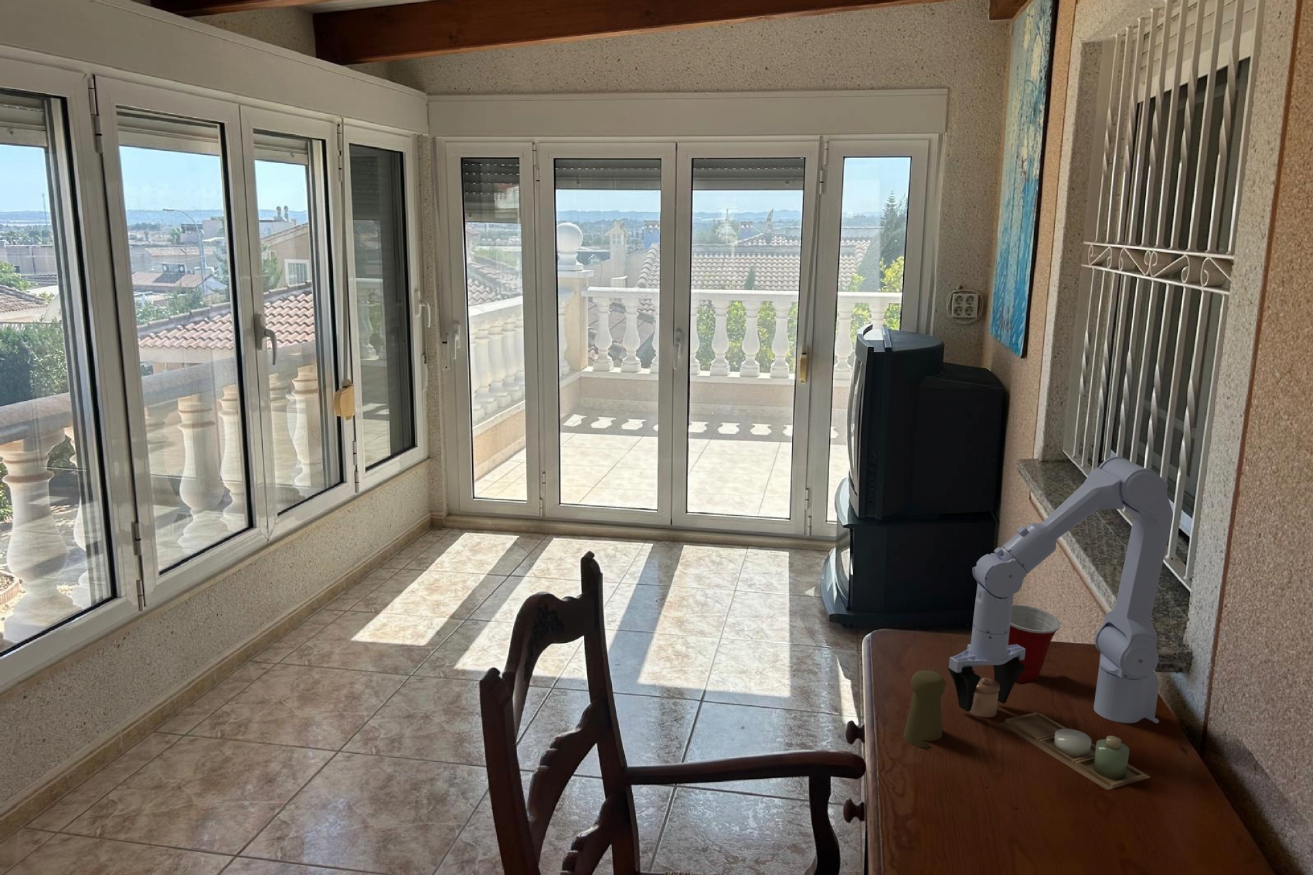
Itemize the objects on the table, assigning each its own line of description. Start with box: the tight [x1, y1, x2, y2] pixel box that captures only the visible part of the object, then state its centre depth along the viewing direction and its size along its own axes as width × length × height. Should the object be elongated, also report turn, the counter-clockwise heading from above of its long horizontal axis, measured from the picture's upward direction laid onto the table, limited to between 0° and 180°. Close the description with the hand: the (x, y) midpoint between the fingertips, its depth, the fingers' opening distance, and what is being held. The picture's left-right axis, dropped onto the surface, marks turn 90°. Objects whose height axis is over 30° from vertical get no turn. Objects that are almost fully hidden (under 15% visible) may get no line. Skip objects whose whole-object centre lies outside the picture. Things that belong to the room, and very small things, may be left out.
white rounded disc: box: [1054, 728, 1093, 758], centre depth 152 cm, size 5×5×2 cm
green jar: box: [1093, 735, 1130, 779], centre depth 145 cm, size 4×4×5 cm
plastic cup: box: [1008, 604, 1062, 684], centre depth 178 cm, size 11×11×12 cm
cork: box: [903, 669, 946, 749], centre depth 155 cm, size 6×6×11 cm
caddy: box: [999, 711, 1152, 791], centre depth 152 cm, size 9×21×2 cm, turn 25°
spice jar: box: [969, 676, 1000, 718], centre depth 163 cm, size 5×5×7 cm
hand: (982, 704), depth 163 cm, fingers open, 7 cm apart
